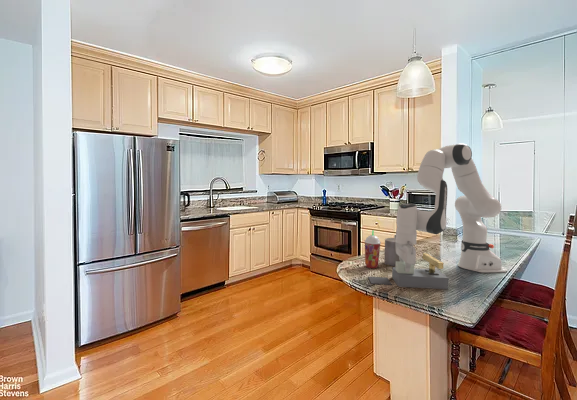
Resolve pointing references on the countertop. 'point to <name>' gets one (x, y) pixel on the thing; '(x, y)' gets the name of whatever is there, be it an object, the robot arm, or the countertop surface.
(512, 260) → the countertop surface
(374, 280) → the mat
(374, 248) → the smoothie
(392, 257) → the pillar candle
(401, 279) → the housing
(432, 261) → the key
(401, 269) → the cover
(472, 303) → the countertop surface
